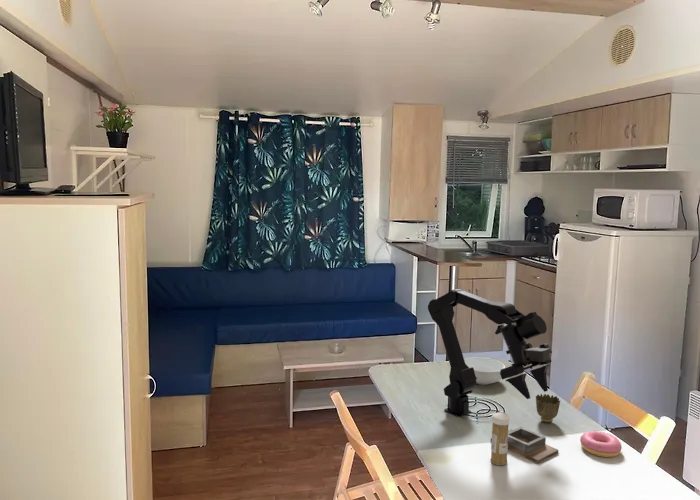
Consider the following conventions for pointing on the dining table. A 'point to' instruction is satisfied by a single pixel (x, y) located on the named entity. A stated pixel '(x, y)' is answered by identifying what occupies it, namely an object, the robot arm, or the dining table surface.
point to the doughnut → (600, 444)
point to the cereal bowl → (485, 369)
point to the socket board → (529, 445)
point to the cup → (547, 407)
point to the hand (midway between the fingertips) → (537, 394)
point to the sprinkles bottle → (499, 438)
